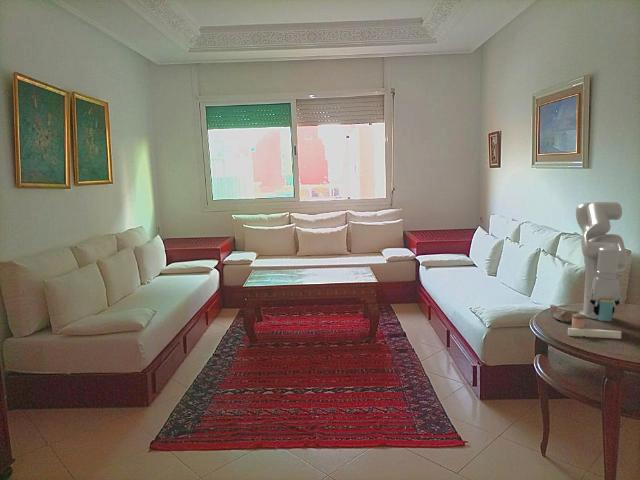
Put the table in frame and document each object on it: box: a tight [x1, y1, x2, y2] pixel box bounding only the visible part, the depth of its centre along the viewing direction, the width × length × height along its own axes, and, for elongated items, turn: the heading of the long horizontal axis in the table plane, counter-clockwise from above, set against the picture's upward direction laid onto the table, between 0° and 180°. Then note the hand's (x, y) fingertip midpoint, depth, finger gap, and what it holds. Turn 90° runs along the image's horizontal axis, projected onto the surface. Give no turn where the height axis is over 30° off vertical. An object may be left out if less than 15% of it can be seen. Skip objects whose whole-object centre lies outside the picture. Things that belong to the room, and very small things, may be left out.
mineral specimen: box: [549, 304, 579, 323], centre depth 230 cm, size 13×7×6 cm, turn 45°
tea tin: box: [595, 299, 614, 322], centre depth 216 cm, size 5×7×9 cm
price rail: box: [567, 327, 622, 340], centre depth 208 cm, size 1×20×3 cm, turn 74°
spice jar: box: [571, 313, 586, 329], centre depth 213 cm, size 5×5×8 cm
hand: (603, 313), depth 217 cm, fingers closed on tea tin, 5 cm apart
